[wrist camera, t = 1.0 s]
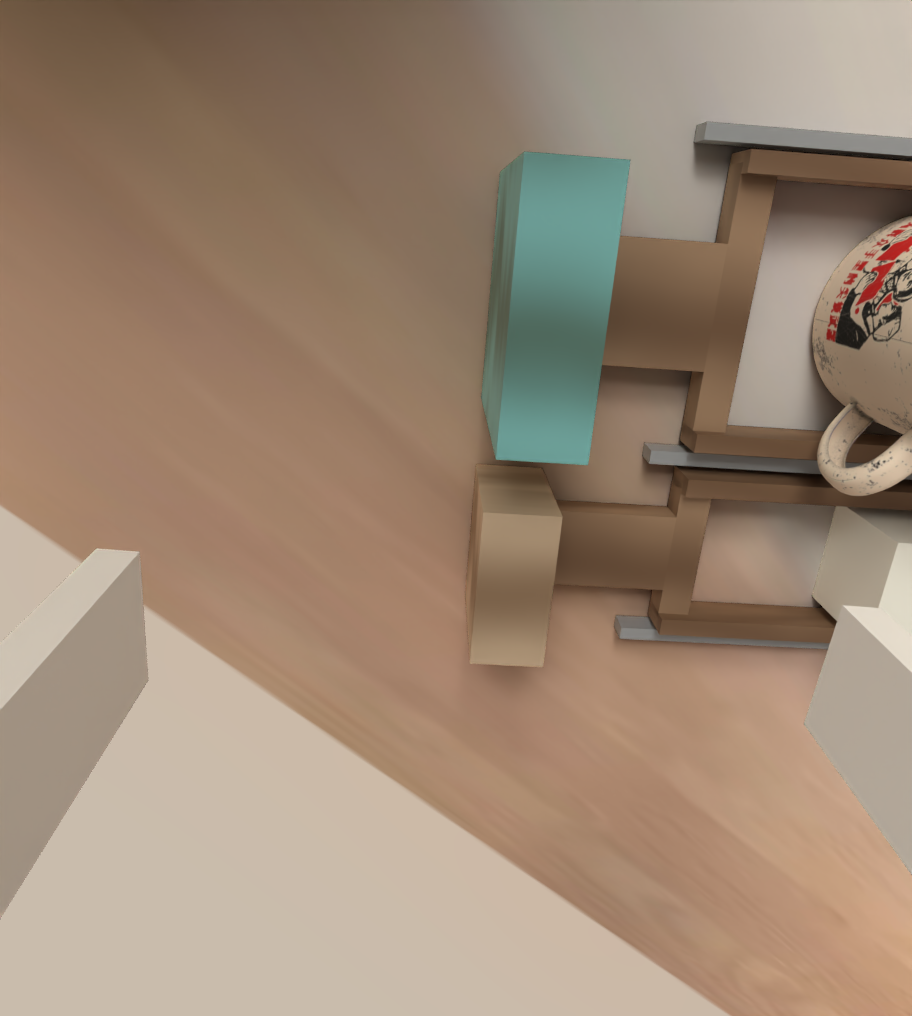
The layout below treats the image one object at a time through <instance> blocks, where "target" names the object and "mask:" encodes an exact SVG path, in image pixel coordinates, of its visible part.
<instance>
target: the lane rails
mask: <svg viewBox="0 0 912 1016" xmlns="http://www.w3.org/2000/svg"><path fill="white" fill-rule="evenodd" d="M694 143H705V144H717V145H730V146H742V147H754V148H767V149H779V150H792V151H804V152H817V153H829V154H842V155H854V156H867V157H879V158H892V159H904V160H912V138H902V137H890V136H878V135H865V134H853V133H841V132H829V131H816V130H804V129H792V128H779V127H767V126H755V125H743V124H730V123H718V122H705V123H702V124H700V125H697V127H696V133H695V139H694ZM642 456H643V457H644V458H645V460H646V461H647V462H648V463H649V464H662V465H679V466H695V467H711V468H728V469H744V470H761V471H777V472H794V473H810V474H821V472H820V469H819V467H818V462H817V460H805V459H789V458H773V457H756V456H740V455H724V454H708V453H694V452H693V451H692V450H690V449H689V448H688V447H687V446H686V445H669V444H653V443H644V448H643V454H642ZM862 464H865V463H854V462H845V467H846V468H853V467H857V466H860V465H862ZM905 479H909V480H912V473H911V474H910V475H909V476H907V477H906V478H905ZM614 627H615V629H616V632H617V634H618V636H619V639H636V640H655V641H675V642H695V643H715V644H735V645H755V646H775V647H795V648H814V649H828V648H829V645H830V643H814V642H794V641H774V640H755V639H735V638H715V637H695V636H676V635H659V633H658V631H657V630H656V628H655V626H654V624H653V622H652V620H651V618H650V617H638V616H619V615H616V617H615V623H614Z"/></svg>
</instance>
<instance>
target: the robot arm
mask: <svg viewBox="0 0 912 1016" xmlns="http://www.w3.org/2000/svg"><path fill="white" fill-rule="evenodd" d="M147 682H148V669H147V653H146V638H145V623H144V607H143V592H142V577H141V562H140V552H137V551H124V550H110V549H97V548H96V549H95V550H94V551H93V552H92V553H91V554H90V555H89V556H88V557H87V558H86V559H85V560H84V561H83V562H82V563H81V564H80V565H79V566H78V567H77V568H76V569H75V570H74V571H73V572H72V573H71V574H70V575H69V576H68V577H67V578H66V579H65V580H64V581H63V582H62V583H61V584H60V585H59V586H58V587H57V588H56V589H55V590H54V591H53V592H52V593H51V594H50V595H49V596H48V597H47V598H45V599H44V600H43V601H42V602H41V604H39V605H38V606H37V607H36V608H35V609H34V610H33V611H32V612H31V613H30V614H29V615H28V616H27V617H26V618H25V619H24V620H23V621H22V622H21V623H20V624H19V625H18V626H17V627H16V628H15V629H14V630H13V631H12V632H11V633H10V634H9V635H8V636H7V637H6V638H5V639H4V640H3V641H2V642H1V643H0V918H1V917H2V915H3V914H4V912H5V910H6V909H7V907H8V906H9V904H10V902H11V900H12V899H13V897H14V896H15V894H16V892H17V891H18V889H19V888H20V886H21V885H22V883H23V881H24V880H25V878H26V876H27V875H28V873H29V872H30V870H31V868H32V867H33V865H34V864H35V862H36V860H37V859H38V857H39V855H40V854H41V852H42V851H43V849H44V847H45V846H46V844H47V843H48V841H49V839H50V838H51V836H52V835H53V833H54V831H55V830H56V828H57V826H58V825H59V823H60V822H61V820H62V818H63V817H64V815H65V814H66V812H67V810H68V809H69V807H70V806H71V804H72V802H73V801H74V799H75V798H76V796H77V794H78V793H79V791H80V790H81V788H82V786H83V785H84V783H85V781H86V780H87V778H88V777H89V775H90V773H91V772H92V770H93V769H94V767H95V765H96V764H97V762H98V761H99V759H100V757H101V756H102V754H103V752H104V751H105V749H106V748H107V746H108V744H109V743H110V741H111V740H112V738H113V736H114V735H115V733H116V731H117V730H118V728H119V727H120V725H121V723H122V722H123V720H124V719H125V717H126V715H127V714H128V712H129V711H130V709H131V707H132V706H133V704H134V703H135V701H136V699H137V698H138V696H139V694H140V693H141V691H142V689H143V688H144V686H145V685H146V683H147ZM804 725H805V726H806V728H807V729H808V731H809V732H810V733H811V735H812V736H813V738H814V739H815V740H816V742H817V743H818V745H819V746H820V747H821V749H822V750H823V752H824V753H825V754H826V756H827V757H828V759H829V760H830V761H831V763H832V764H833V766H834V767H835V768H836V770H837V771H838V773H839V774H840V775H841V777H842V778H843V780H844V781H845V782H846V784H847V785H848V787H849V788H850V789H851V791H852V792H853V794H854V795H855V796H856V798H857V799H858V801H859V802H860V803H861V805H862V806H863V808H864V809H865V810H866V812H867V813H868V815H869V816H870V817H871V819H872V820H873V822H874V823H875V824H876V826H877V827H878V829H879V830H880V831H881V833H882V834H883V836H884V837H885V838H886V840H887V841H888V843H889V844H890V845H891V847H892V848H893V849H894V851H895V852H896V854H897V855H898V856H899V858H900V859H901V861H902V862H903V863H904V865H905V866H906V868H907V869H908V870H909V872H910V873H911V875H912V635H911V634H909V633H908V632H907V631H906V630H905V629H904V628H903V627H902V626H900V625H899V624H898V623H897V622H896V621H895V620H894V619H893V618H892V617H890V616H889V615H888V614H887V613H886V612H885V611H884V610H883V609H881V608H872V607H859V606H846V605H842V608H841V611H840V614H839V617H838V620H837V623H836V626H835V629H834V632H833V636H832V639H831V642H830V645H829V648H828V651H827V654H826V657H825V660H824V663H823V666H822V669H821V672H820V676H819V679H818V682H817V685H816V688H815V691H814V694H813V697H812V700H811V703H810V706H809V709H808V712H807V716H806V719H805V722H804Z"/></svg>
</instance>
